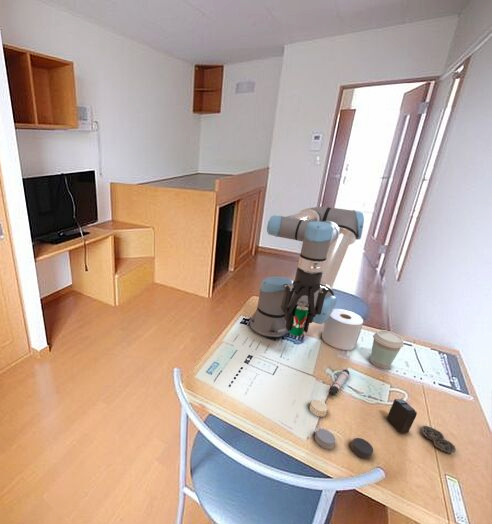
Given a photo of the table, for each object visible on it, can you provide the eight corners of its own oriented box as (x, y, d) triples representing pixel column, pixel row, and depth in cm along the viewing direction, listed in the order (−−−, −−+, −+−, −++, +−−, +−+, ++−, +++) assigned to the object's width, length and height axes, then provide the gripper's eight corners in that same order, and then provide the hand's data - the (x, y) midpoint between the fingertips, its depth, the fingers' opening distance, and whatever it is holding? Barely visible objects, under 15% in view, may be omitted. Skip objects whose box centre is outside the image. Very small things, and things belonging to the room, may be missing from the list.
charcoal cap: (347, 449, 80) (350, 443, 79) (354, 440, 83) (357, 434, 82) (366, 462, 77) (369, 456, 76) (373, 453, 79) (376, 447, 79)
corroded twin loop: (442, 455, 79) (443, 452, 78) (414, 428, 86) (416, 425, 86) (460, 454, 79) (462, 452, 78) (431, 427, 86) (433, 425, 86)
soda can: (302, 330, 110) (309, 301, 106) (304, 338, 106) (311, 308, 101) (286, 327, 112) (293, 299, 107) (288, 335, 107) (294, 306, 103)
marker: (342, 372, 107) (343, 368, 106) (348, 375, 105) (350, 371, 105) (326, 395, 97) (328, 390, 96) (333, 399, 96) (335, 394, 95)
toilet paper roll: (357, 339, 124) (365, 315, 120) (353, 354, 116) (361, 328, 111) (324, 328, 131) (331, 305, 127) (318, 341, 123) (325, 317, 119)
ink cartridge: (408, 433, 85) (418, 412, 82) (400, 434, 85) (410, 412, 81) (393, 418, 89) (402, 398, 86) (386, 418, 89) (395, 398, 86)
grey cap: (311, 439, 83) (313, 434, 82) (319, 431, 85) (321, 425, 84) (328, 452, 79) (330, 446, 79) (336, 443, 82) (338, 437, 81)
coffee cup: (384, 356, 115) (394, 329, 110) (399, 372, 107) (411, 344, 102) (360, 354, 116) (369, 328, 111) (374, 370, 108) (384, 342, 103)
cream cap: (306, 409, 92) (308, 403, 91) (313, 402, 95) (315, 397, 94) (321, 419, 89) (323, 413, 88) (328, 412, 91) (330, 406, 90)
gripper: (284, 272, 97) (272, 333, 106) (345, 276, 94) (327, 337, 103) (277, 263, 104) (267, 321, 113) (334, 266, 101) (319, 325, 110)
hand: (296, 329), depth 108 cm, fingers closed on soda can, 5 cm apart
